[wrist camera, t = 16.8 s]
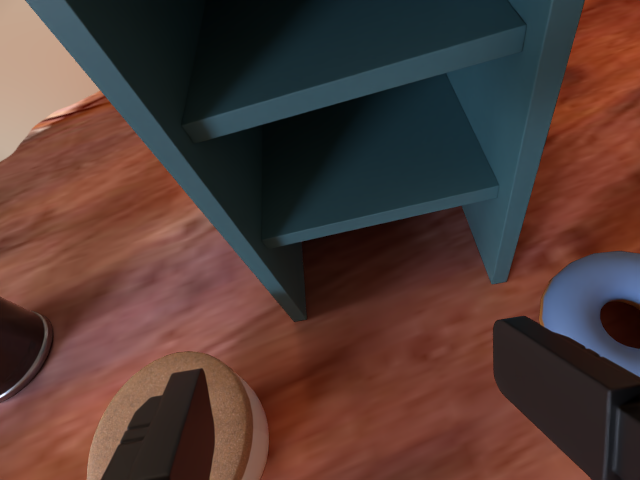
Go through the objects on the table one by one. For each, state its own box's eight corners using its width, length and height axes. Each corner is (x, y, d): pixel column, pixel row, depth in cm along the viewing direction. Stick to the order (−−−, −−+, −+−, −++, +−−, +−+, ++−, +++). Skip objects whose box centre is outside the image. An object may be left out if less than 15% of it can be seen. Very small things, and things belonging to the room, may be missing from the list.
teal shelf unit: (507, 282, 31) (748, -579, 6) (294, 322, 34) (-108, -158, 9) (441, 123, 43) (436, -403, 18) (286, 163, 46) (98, -239, 21)
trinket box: (169, 390, 34) (90, 358, 26) (286, 369, 32) (237, 328, 24) (149, 546, 27) (38, 564, 20) (293, 531, 26) (231, 543, 18)
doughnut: (694, 445, 23) (742, 434, 19) (515, 366, 28) (525, 345, 24) (717, 303, 27) (760, 271, 23) (554, 255, 31) (569, 222, 28)
